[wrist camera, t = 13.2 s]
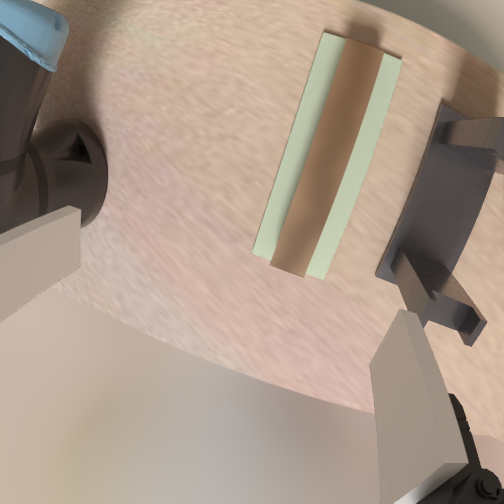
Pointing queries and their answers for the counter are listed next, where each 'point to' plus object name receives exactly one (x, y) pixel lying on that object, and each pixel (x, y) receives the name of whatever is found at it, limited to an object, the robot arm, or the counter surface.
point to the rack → (444, 220)
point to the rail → (328, 156)
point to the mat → (301, 146)
